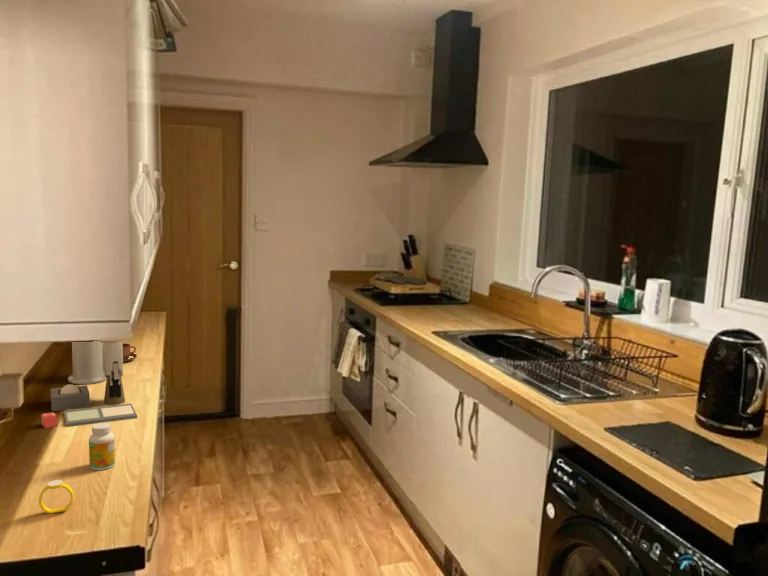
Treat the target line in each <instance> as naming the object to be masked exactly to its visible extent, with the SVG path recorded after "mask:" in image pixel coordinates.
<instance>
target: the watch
mask: <svg viewBox="0 0 768 576" xmlns="http://www.w3.org/2000/svg"><path fill="white" fill-rule="evenodd" d="M59 488H62V489H65V490H66V491H67V492H68V494H69V495H70V501H69V503H68V504H67V505H66V506H63V507H58V508H57V507H56V508H53V509H52V508H50V507H47V506H46V505H45V503H44V502H43V495H44V493H46V492H47V491H48V490H56V489H59ZM74 498H75V494H74V490H73V488H72V487H71V486H70V485H69V484H67V483H64V481H63V480H61V479H55V480H52V481H49V482H48V483H47V485H46V486H45V487H44V488H42V491H41V493H40V494H39V496H38V506H39V507H40V509H41V510H42V511H43V512H44V513H46V514H49V515H50V514H51V515H52V514H56V513H61V512H67V511H68V509H70V508H71V507H72V504H73V501H74Z"/></svg>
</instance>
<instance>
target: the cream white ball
mask: <svg viewBox="0 0 768 576" xmlns="http://www.w3.org/2000/svg"><path fill="white" fill-rule="evenodd" d="M77 386H78V385H75V384H72V383H70V384H66V385H64V386H63V387H61V388H62V389H61V391H60V395H65V394H74V393H80V391H79V389H78V387H77Z"/></svg>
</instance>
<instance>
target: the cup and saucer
mask: <svg viewBox="0 0 768 576" xmlns="http://www.w3.org/2000/svg"><path fill="white" fill-rule="evenodd" d="M122 343H123V363H127V361H128V362H130V361H134V360H135V359H136V358H137V355H138V354H136V351H137V348H136V346H134V345H131V344H129V343H124V342H122ZM131 348H132V349H133V351H131ZM129 356H133V357H134V358H130V359H128V358H129Z"/></svg>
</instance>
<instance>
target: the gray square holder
mask: <svg viewBox="0 0 768 576" xmlns="http://www.w3.org/2000/svg"><path fill="white" fill-rule="evenodd" d="M76 386H77V387H78V389H79V391H80V393H74V394H65V395H60V391H61V389H62V388H63V387H55V388H50V406H51V411H52V412H56V411H67V410H76V409H85V408H91V404H90V403H91V402H90V394H91V393H90V391H89V388H88V384H83V385H76Z"/></svg>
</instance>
